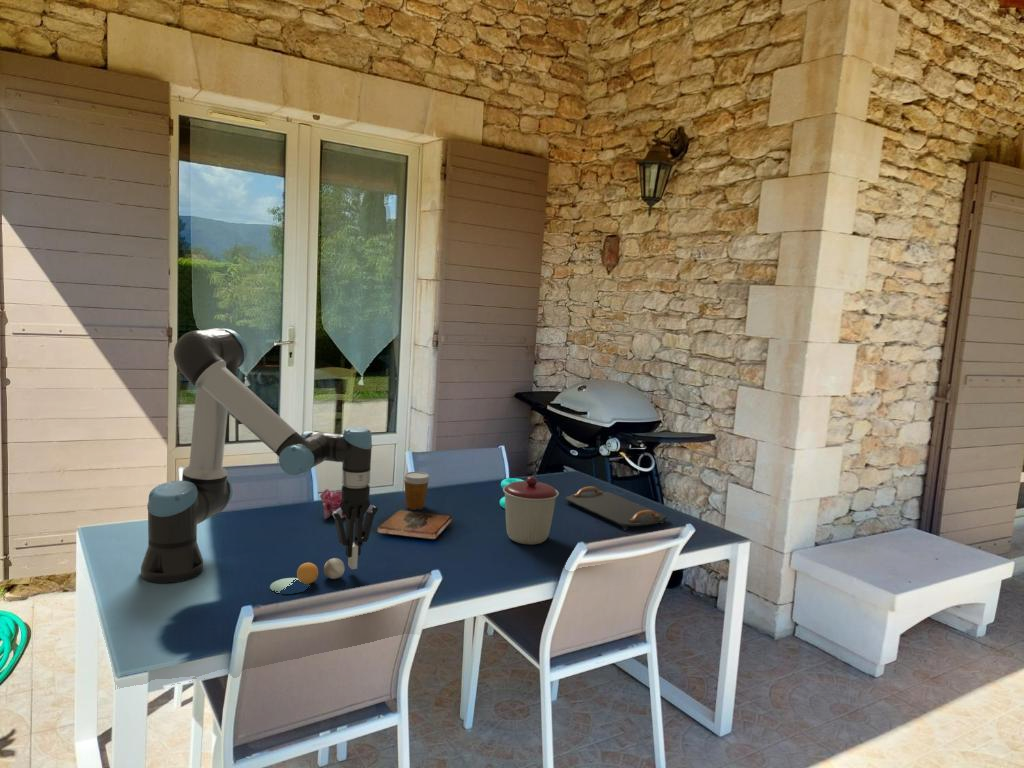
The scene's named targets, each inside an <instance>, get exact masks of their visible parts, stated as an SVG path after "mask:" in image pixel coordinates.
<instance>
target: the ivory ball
mask: <svg viewBox="0 0 1024 768" xmlns="http://www.w3.org/2000/svg"><path fill="white" fill-rule="evenodd" d="M345 568H346V567H345V563H344V562H343V560H342V559H340V558H338V557H332V558H330V559H328V560H327V561H326V562H325V564H324V566H323V573H324V575H325V576H326V577H327V578H328V579H331V580H336V579H339V578H340V577H342V576H343V575H344V572H345V570H346V569H345Z"/></svg>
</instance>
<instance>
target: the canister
mask: <svg viewBox="0 0 1024 768" xmlns="http://www.w3.org/2000/svg"><path fill="white" fill-rule="evenodd" d="M502 491H503V493H504V497H505V509H504V511H505V526H506V527H505V529H506V533H507V536H508V538H509V539H510V540H512V541H513V542H516V543H517V544H520V545H521V544H522V545H531V546H532V545H539V544H542V543H543V542H545V541H546V540H547V539H548V537H549V534H550V531H551V526H552V521H553V517H554V511H555V507H556V501H557V497H558V496H559V494H560V493H559V491H558V490H557V489H555V488H554V487H553V486H552V485H551V484H550V485H549V484H547V483H544V482H541V481H538V480H537V478H536V477H535V476H528V477H527V478H526V479H525V480H524V481H517V482H513V483H510V484H509V485H506V486H505V487H504V488H502Z"/></svg>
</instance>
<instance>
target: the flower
mask: <svg viewBox="0 0 1024 768" xmlns="http://www.w3.org/2000/svg"><path fill="white" fill-rule="evenodd" d="M341 491H342V490H339V491H338V490H337V491H334V490H329V489H328V488H325V489H324V491H323V492H322V493H321V494H320V496H319V497H320V500H321V501H322V506H323V511H322V513H323V514H324V515H323V516H324V517H323V518H324V519H325V520H326V519H328V518H330V517H331V516H332V514H331V512H332V511H336V510H337V509H339V508H340V504H341V501H342V500H341ZM341 518H342V519H344V518H346V516H345V515H344V513H343V512H342V517H341Z"/></svg>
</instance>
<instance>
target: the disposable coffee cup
mask: <svg viewBox="0 0 1024 768" xmlns="http://www.w3.org/2000/svg"><path fill="white" fill-rule="evenodd" d="M429 475H430V474H428V473H426V472H421V471H409V472H406V473H404V476H403V477H402V479H403V482H404V493H405V495H404V496H405V505H406V507H405V508H406V509H408V508H409V510H414V511H415V510H416V509H419V510H422V509H421V508H423V507H424V508H425V502H426V497H427V493H428V492H427V491H428V485H429V483H430V480H431V477H430V476H429ZM424 508H423V509H424ZM416 511H417V510H416Z"/></svg>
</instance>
